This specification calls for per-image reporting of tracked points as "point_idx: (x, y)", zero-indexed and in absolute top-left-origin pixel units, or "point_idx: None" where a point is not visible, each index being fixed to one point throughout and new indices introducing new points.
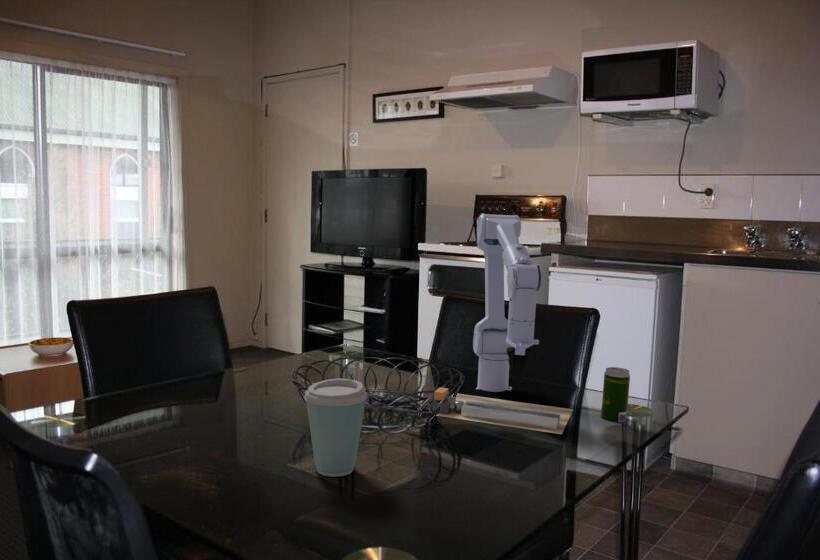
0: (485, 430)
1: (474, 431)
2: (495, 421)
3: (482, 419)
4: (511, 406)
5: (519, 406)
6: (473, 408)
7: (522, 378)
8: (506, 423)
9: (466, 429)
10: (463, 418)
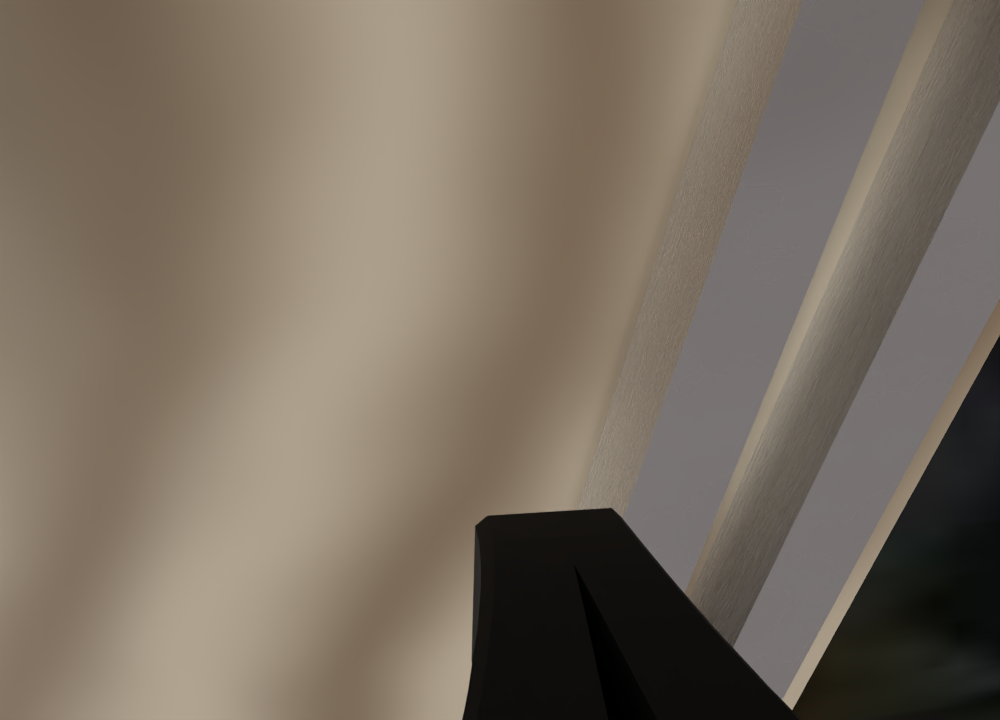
0: (915, 490)
1: (942, 560)
2: None
3: None
4: (674, 394)
5: (123, 234)
6: None
7: (649, 564)
8: None
9: (891, 615)
10: None
